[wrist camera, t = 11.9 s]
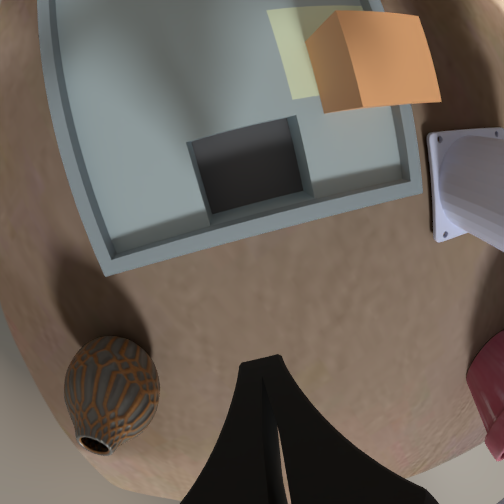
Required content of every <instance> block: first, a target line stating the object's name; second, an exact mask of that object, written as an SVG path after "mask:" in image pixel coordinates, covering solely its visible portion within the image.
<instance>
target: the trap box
mask: <svg viewBox="0 0 504 504" xmlns="http://www.w3.org/2000/svg"><path fill="white" fill-rule="evenodd" d="M37 8H38V29H39V41H40V51H41V60H42V67H43V74H44V81H45V87H46V93H47V98H48V103H49V108H50V113H51V118H52V122H53V127H54V131H55V135H56V139H57V143H58V147H59V151H60V154H61V158H62V161H63V165H64V168H65V172H66V175H67V178H68V181H69V185H70V188H71V191H72V194H73V197H74V200H75V203H76V206H77V208H78V211H79V214H80V217H81V219H82V222H83V225H84V227H85V230H86V233H87V235H88V238H89V240H90V243H91V245H92V248H93V250H94V252H95V255H96V257H97V259H98V262H99V264H100V266H101V269H102V271H103V273H104V275H105V277H107V276H110V275H114V274H117V273H121V272H124V271H128V270H131V269H135V268H138V267H142V266H145V265H149V264H152V263H156V262H160V261H163V260H167V259H170V258H174V257H178V256H181V255H185V254H188V253H192V252H196V251H199V250H203V249H207V248H210V247H214V246H218V245H222V244H225V243H229V242H233V241H236V240H240V239H244V238H248V237H251V236H255V235H259V234H263V233H266V232H270V231H274V230H278V229H282V228H285V227H289V226H293V225H297V224H301V223H305V222H309V221H312V220H316V219H320V218H324V217H328V216H332V215H336V214H340V213H344V212H348V211H352V210H356V209H360V208H364V207H368V206H372V205H376V204H380V203H384V202H388V201H392V200H396V199H400V198H404V197H408V196H412V195H417V194H421V193H423V189H422V177H421V167H420V159H419V151H418V143H417V137H416V130H415V124H414V119H413V113H412V108H411V104H404V105H394V106H383V107H372V108H363V109H355V110H347V111H339V112H332V113H326V114H324V112H323V107H322V103H321V99H320V95H319V91H318V87H317V83H316V79H315V75H314V72H313V68H312V64H311V61H310V57H309V54H308V50H307V47H306V44H305V41H306V40H307V39H308V38H309V37H310V36H311V35H312V34H313V33H314V32H315V31H316V30H317V29H318V28H319V27H320V26H321V24H322V23H323V22H324V21H325V20H326V19H327V18H328V17H329V16H330V15H331V14H332V13H333V12H334V11H335V10H352V11H375V12H385V11H384V9H383V6H382V4H381V1H380V0H37Z"/></svg>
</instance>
